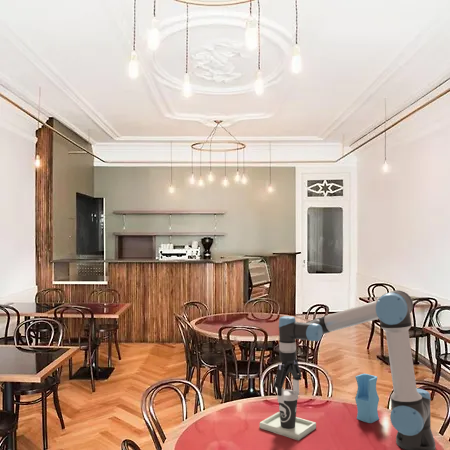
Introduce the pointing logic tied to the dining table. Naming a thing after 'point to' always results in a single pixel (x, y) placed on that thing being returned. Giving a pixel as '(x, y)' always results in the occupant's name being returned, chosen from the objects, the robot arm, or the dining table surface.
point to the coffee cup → (288, 409)
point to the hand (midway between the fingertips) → (288, 398)
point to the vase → (367, 398)
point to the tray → (295, 433)
